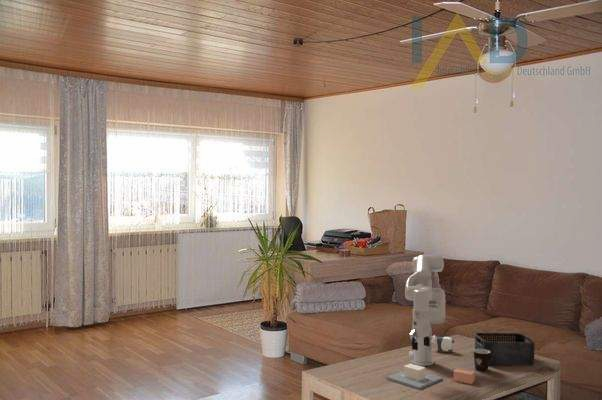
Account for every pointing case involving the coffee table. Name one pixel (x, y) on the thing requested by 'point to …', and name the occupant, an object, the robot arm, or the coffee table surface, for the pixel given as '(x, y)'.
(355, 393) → the coffee table surface
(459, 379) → the terracotta block
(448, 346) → the giant panda
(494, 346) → the storage bin
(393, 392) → the coffee table surface
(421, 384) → the build board
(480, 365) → the coffee mug
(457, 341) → the coffee table surface
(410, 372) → the cream block
